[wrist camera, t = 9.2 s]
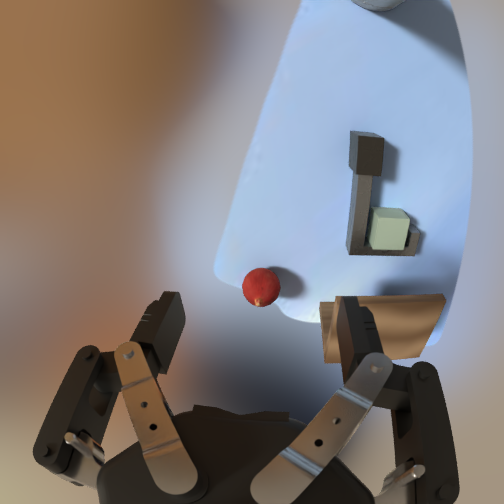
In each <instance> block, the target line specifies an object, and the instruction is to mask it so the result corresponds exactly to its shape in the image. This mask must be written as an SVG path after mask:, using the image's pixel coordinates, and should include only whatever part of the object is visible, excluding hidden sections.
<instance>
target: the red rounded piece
mask: <svg viewBox="0 0 504 504" xmlns="http://www.w3.org/2000/svg"><path fill="white" fill-rule="evenodd" d="M280 288H281V287H280V282H279V279H278V277H277V276H276V275H275V273H273V272H272V271H270V270H269V269H265V268H257V269H254V270H252V271H250V272H249V273H248V274H247V275H246V276H245V279H244V281H243V284H242V289H243V294H244V296H245V297H246V299H247V300H248V302H250V303H251V304H252V305H255V306H258V307H265V306H267V305H270V304H271V303H273V302H274V301H275V300H276V299H277V298H278V295H279V292H280Z"/></svg>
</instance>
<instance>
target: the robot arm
mask: <svg viewBox="0 0 504 504" xmlns="http://www.w3.org/2000/svg"><path fill="white" fill-rule="evenodd" d="M351 1H353V2H354V3H356V4H357V5H359V6H361V7H363V8H366V9H369V10H373V11H388V10H391V9H393V8H395V7H396V6H398V5H399V4H401V3H402V2H404V1H406V0H351ZM184 325H185V312H184V308H183V304H182V300H181V297H180V293H179V292H170V291H164V292H163V294H162V295H161V297H160V299H159V301H158V300H155V301H153V302H152V303H151V304H150V305H149V306H148V307H147V309H146V311H145V312H144V315H143V316H142V318H141V321H140V322H139V324H138V325H137V328H136V329H135V331H134V333H133V335H132V337H131V339H130V341H129V342H125V343H122V344H121V345H119V346H118V347H117V348H116V350H115V351H112V352H101V353H100V351H99V349H98V348H97V347H95V346H92V345H88V346H85V347H83V348H81V349H80V350H79V351H78V352H77V354H76V356H75V358H74V360H73V362H72V364H71V365H70V367H69V369H68V372H67V373H66V375H65V377H64V379H63V381H62V384H61V385H60V387H59V390H58V391H57V394H56V396H55V398H54V400H53V402H52V404H51V406H50V409H49V411H48V413H47V415H46V418H45V420H44V422H43V425H42V427H41V429H40V432H39V434H38V437H37V439H36V442H35V444H34V447H33V456H34V458H35V460H36V462H38V463H39V464H40V465H42V466H43V467H45V468H46V469H48V470H49V471H50V472H52V473H53V474H55V475H57V476H59V477H60V478H62V479H64V480H66V481H69V482H71V483H73V484H75V485H77V486H84V485H85V486H87V487H90V488H92V489H95V490H97V491H98V496H99V502H100V504H453V503H454V502H455V501H456V499H457V497H458V495H459V488H460V487H459V478H458V469H457V461H456V454H455V448H454V442H453V436H452V430H451V425H450V420H449V416H448V411H447V407H446V403H445V398H444V394H443V391H442V387H441V383H440V380H439V376H438V372H437V370H436V368H435V367H434V366H433V365H432V364H430V363H428V362H423V361H421V362H417V363H415V364H414V365H413V366H412V367H411V368H410V367H404V366H399V365H396V364H394V363H392V361H391V359H390V358H389V357H388V356H386V355H385V354H384V351H383V347H382V344H381V340H380V337H379V333H378V330H377V326H376V323H375V319H374V316H373V313H372V312H371V311H370V310H369V309H368V307H367V306H359V302H358V298H357V296H342V297H341V299H340V305H339V310H338V315H337V322H336V330H337V337H338V344H339V351H340V358H341V366H342V373H343V382H344V384H345V385H344V386H343V388H342V389H338V390H337V392H336V393H335V394H334V395H333V396H332V397H331V399H330V400H329V401H328V403H327V404H326V405H325V406H324V408H322V410H321V411H320V412H319V413H318V414H317V416H316V417H315V418H314V419H313V420H312V421H311V422H310V424H309V425H308V426H307V425H306V424H304V423H302V422H300V421H298V420H295V419H291V418H289V412H271V411H264V412H258V413H251V414H245V415H238V414H234V413H231V412H228V411H225V410H222V409H219V408H217V407H209V406H201V405H194V407H193V411H188V412H183V413H179V414H177V415H175V416H174V414H173V413H172V411H171V409H170V407H169V405H168V403H167V401H166V398H165V396H164V394H163V392H162V390H161V388H160V385H159V383H158V381H157V376H158V373H160V374H167V371H168V368H169V365H170V363H171V360H172V357H173V355H174V352H175V349H176V346H177V344H178V341H179V339H180V336H181V333H182V331H183V328H184ZM119 392H122V395H123V398H124V401H125V404H126V407H127V410H128V413H129V416H130V419H131V421H132V424H133V427H134V429H135V432H136V435H137V437H138V440H139V441H138V442H136V443H134V444H133V445H131V446H130V447H129V448H127V449H126V450H124V451H123V452H121V453H120V454H118V455H116V456H115V457H114V458H112V459H110V460H109V461H107V462H106V463H105V459H104V456H105V455H104V450H103V448H102V447H101V443H102V439H103V437H104V433H105V430H106V428H107V425H108V422H109V419H110V416H111V413H112V410H113V407H114V404H115V402H116V399H117V396H118V393H119ZM372 406H376V407H382V408H386V409H391V417H392V426H393V435H394V436H393V437H394V448H395V464H396V468H395V469H394V470H392V471H391V472H390V473H389V474H388V475H387V476H386V477H385V479H384V483H383V488H382V490H381V492H380V493H379V495H378V496H376V497H373V495H372V493H371V491H370V490H369V489H368V488H367V487H366V486H365V485H364V484H363V483H362V482H361V481H360V480H359V479H358V478H357V477H356V476H355V475H354V474H353V473H352V472H351V471H350V470H349V468H348V467H347V466H346V465H345V464H344V463H343V462H342V461H341V460H340V459H339V458H338V457H337V456H338V454H339V453H340V452H341V451H342V449H343V448H344V447H345V445H346V444H347V443H348V441H349V440H350V438H351V437H352V436H353V434H354V433H355V431H356V430H357V428H358V427H359V425H360V424H361V423H362V421H363V420H364V418H365V417H366V415H367V414H368V412H369V411H370V409H371V408H372ZM104 463H105V464H104Z"/></svg>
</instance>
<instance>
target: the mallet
mask: <svg viewBox="0 0 504 504" xmlns="http://www.w3.org/2000/svg"><path fill="white" fill-rule="evenodd" d="M383 150H384V138H383V137H381V136H379V135H377V134H375V133H369V132H359V131H350V151H349V167H350V168H351V169H352V170H353V180H352V192H351V203H350V212H349V221H348V230H347V238H346V247H347V250H348V253H349V255H376V256H415V252H416V248H417V244H418V240H419V236H420V232H419V231H418V230H417V229H416V227H415V226H414V225H413V224H409V227H408V232H407V236H406V241H405V245H404V249H403V250H382V249H373V248H372V246H371V244H370V242H369V240H368V238H367V237H365V233H366V227H367V220H368V212H369V205H370V197H371V188H372V178H373V176H381V173H382V162H383Z"/></svg>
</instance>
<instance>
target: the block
mask: <svg viewBox="0 0 504 504" xmlns="http://www.w3.org/2000/svg"><path fill="white" fill-rule="evenodd" d="M409 223H410V219H409V217H408V216H407V215H406V214H405V213H404V212H403V210H402V209H400V208H385V207H371V212H370V219H369V225H368V232H367V238H368V240H369V242H370V244H371V246H372V248H373V249H382V250H403V249H404V245H405V241H406V236H407V232H408V227H409Z"/></svg>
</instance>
